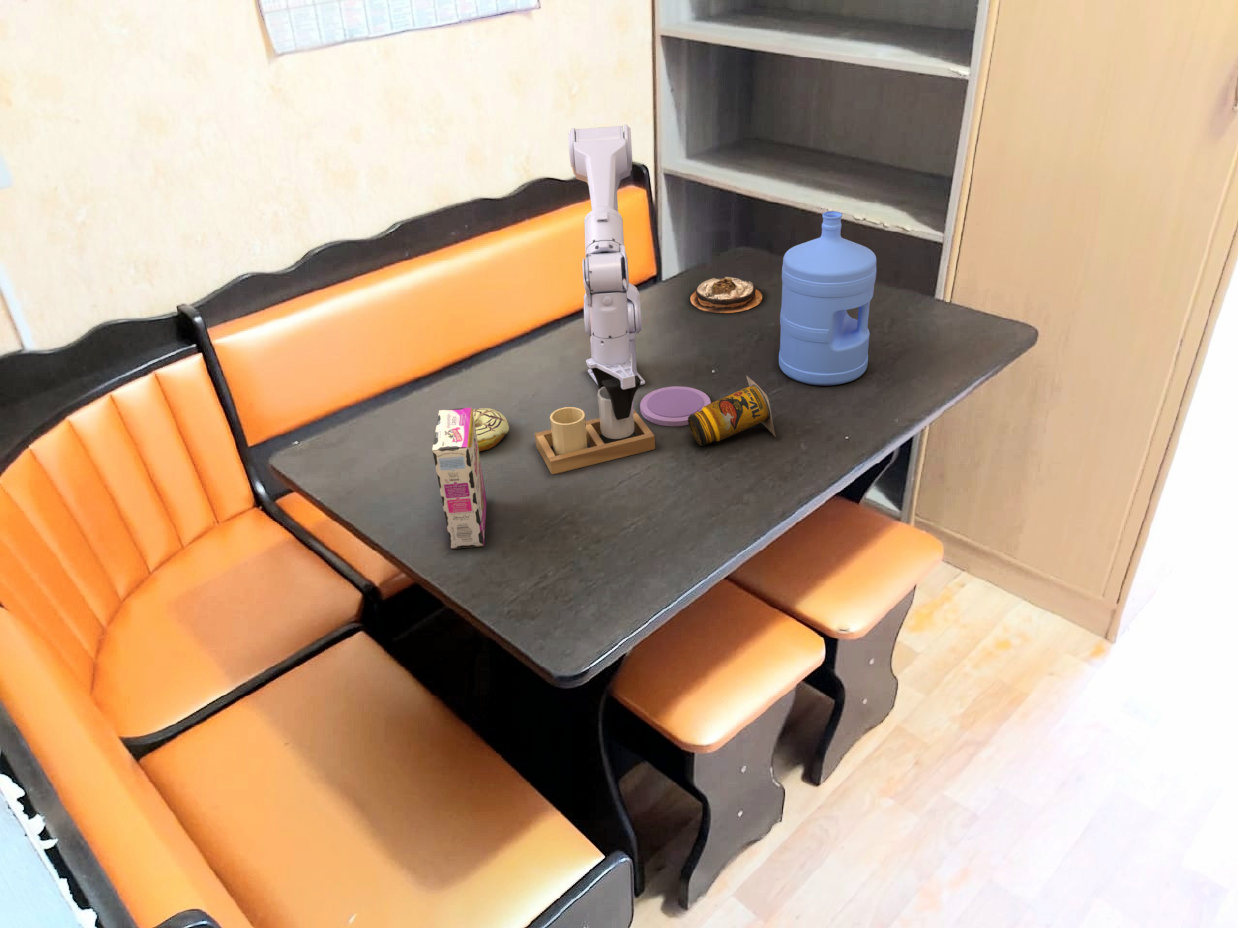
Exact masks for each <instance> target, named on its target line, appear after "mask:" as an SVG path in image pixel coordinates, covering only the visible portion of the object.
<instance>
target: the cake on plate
mask: <svg viewBox="0 0 1238 928" xmlns="http://www.w3.org/2000/svg"><path fill="white" fill-rule="evenodd" d="M762 300H763V294H762V292H761V291H759V290H758V289H756V286H755V284H754V283H753V282H751V281H750V280H749V281H747V280H745V281H744V279H743V280H742V279H741V278H737V277H730V276H724V278H717V277H716V278H715V277H712V278H710V279H707V280H704V281H702V282H701V283H700V284H699V285H698V286H697V288H696V289H695V291H694V292H693V293H692V294H691V295H690V302H691V303H690V304H692V305H693V307H695V308H697V309H699V310H700V311H703V312H708V313H713V314H714V313H715V314H734V313H739V312H744V311H749V310H750V309H753V308H755V307H757V306H759V304H761V302H762Z"/></svg>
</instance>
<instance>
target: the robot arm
mask: <svg viewBox="0 0 1238 928" xmlns="http://www.w3.org/2000/svg"><path fill="white" fill-rule="evenodd" d="M631 129H632V128H631V127H630V126H629V125H628V124H623V125H616V126H615V125H613V126H600V127H585V128H576V127H571V128H570V130H569V132H568V139H567V140H568V154H569V162H570V166H571V168H572V173H573V175H574V176H575V179H576V180H579V181H581V182H585V183H586V185H588V191H589V200H590V206H591V211H589V212H588V213H587V214H586V215H585V217H584V221H583V224H584V251H585V252H584V253H585V254H584V255H585V257H583V258H582V263H581V265H582V266H581V267H582V269H581V270H582V282H583V288H584V294H583V320H584V330H585V334H586V335H587V336H588V337H590V340H589V343H590V356H591V357H590V358H587V359H586V360H585V363H586V366H587V367H588V369H587V373H588V374H589V376H590V378H592V380H593V381H594V383H595V384H596V385H597V387H598V390H599V389H600V388H602V387H604V386H605V388H606V390H607V392H608V394H609V396H610V399H611V403H612V408H613V412H614V415H615V417H616V419H617V420H620V419H625V418H629V416H630V412H631V407H632V402H633V403H634V398H635V396H636V393H637V391H638V389H639V388H640V386H643V385H645V384H646V381H645V379H644V378H643V377H642V376H641V375H640V374H639V372H638V370H637V368H638V367H637V366H638V365H637V351H636V350H637V349H636V334H637V335H638V334H640V332H642V313H641V312H642V309H641V300H640V292H639V290H638V288H637V287H636V285H634V284H632V283H631V282H630V278H629V276H630V275H629V262H628V261H629V259H628V255H627V251H626V246H625V240H624V239H625V237H624V236H625V235H624V220H623V217H622V215H621V213H620V212H619V203H618V202H619V201H618V190H619V186H620V183H621V180H623V179H625V178H627V177H629V176H631V172H632V171H633V147H632V146H633V145H632V131H631Z"/></svg>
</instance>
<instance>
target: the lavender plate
mask: <svg viewBox="0 0 1238 928" xmlns="http://www.w3.org/2000/svg"><path fill="white" fill-rule="evenodd" d="M710 403H712V401H711V398H710V396H709V395H708V394H706V393H705V392H704V391H702V390H700V389H697V388H694V387H689V386H677V385H676V386H674V385H673V386H666V387H661V388H658V389H655V390H652V391H650V392H649V393H647V394H646V395H645V396H643V397H642V398H641V400H640V403H639V410H640V414H641V416H642V417H643V418H644V419H646V421H648V422H650V423H652V424H655V425H657V426H662V427H664V426H665V427H683V426H689V424H688V417H689V416H690V415H692V414H694V413H696V412H698V411H701V410H702V408H703V407H704V406H706V405H708V404H710Z"/></svg>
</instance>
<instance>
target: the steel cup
mask: <svg viewBox="0 0 1238 928" xmlns="http://www.w3.org/2000/svg"><path fill="white" fill-rule="evenodd" d="M596 394H597V404H598V416H599V417H598V418H600V429H601V433H602V434H601V435H602V436H603V437H605V438H607V439H610V440H623V439H627V438H629V437H630V436H631V435H633V434H634V433H635V432H634V430H635V429H634V410H635V409H634V401H633V402H632V407H631V412H630V416H629V418H625V419H620V420H617V419H616V417H615V415H614V412H613V408H612V403H611V399H610V396H609V394H608V392H607V390H606V388H605V386H604V387H602V388H600V389H599V388H598V390H597V393H596Z"/></svg>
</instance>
